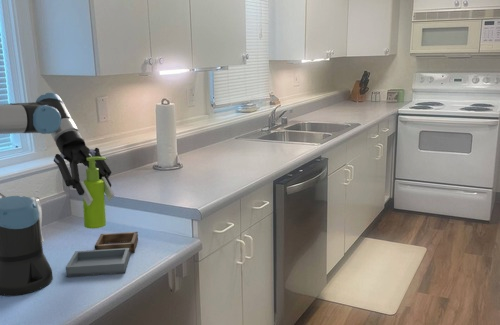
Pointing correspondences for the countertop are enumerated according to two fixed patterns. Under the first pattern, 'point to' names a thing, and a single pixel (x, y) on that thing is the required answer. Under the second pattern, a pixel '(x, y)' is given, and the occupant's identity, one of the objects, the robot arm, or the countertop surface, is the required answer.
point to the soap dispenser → (94, 197)
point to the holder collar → (117, 241)
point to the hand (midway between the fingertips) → (101, 200)
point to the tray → (98, 262)
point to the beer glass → (39, 211)
